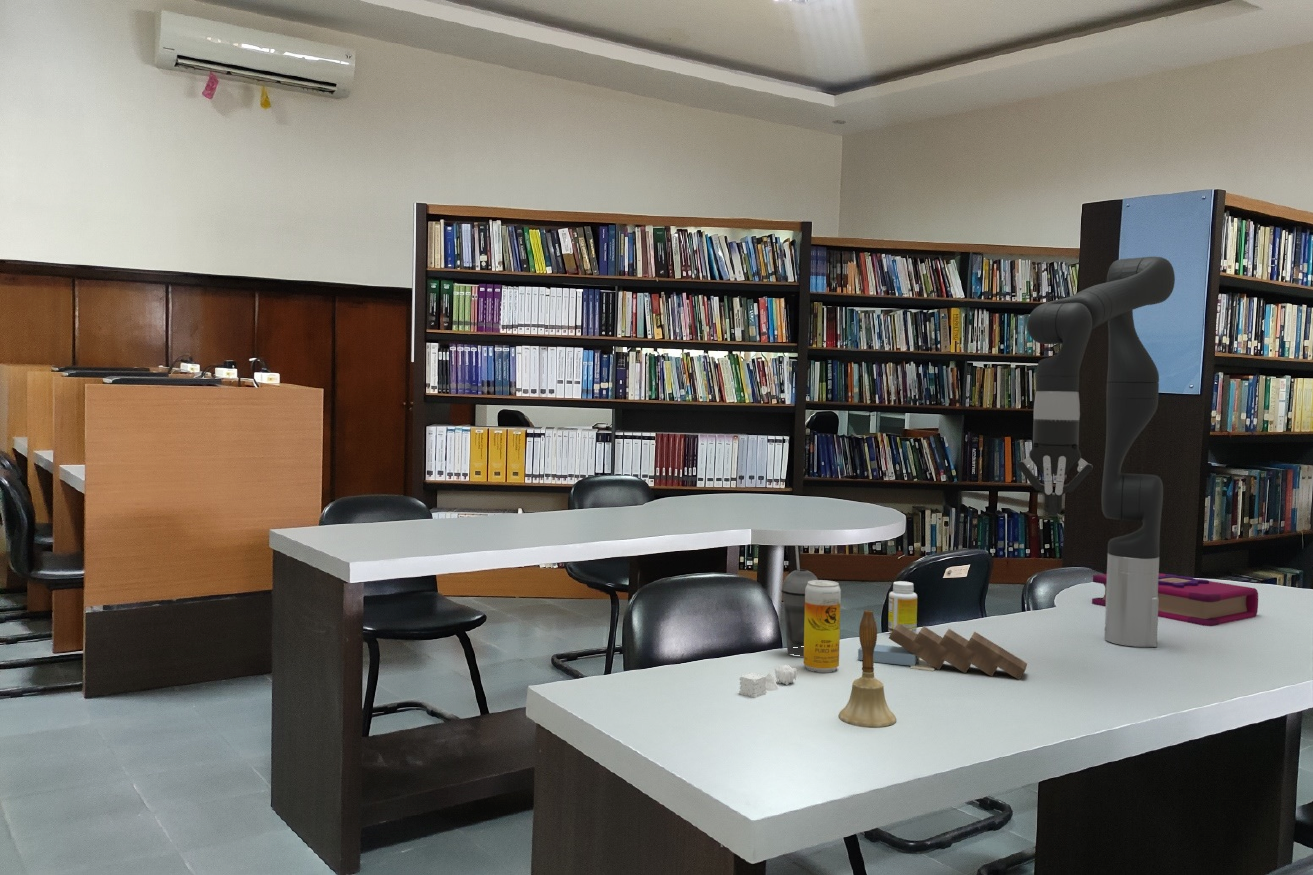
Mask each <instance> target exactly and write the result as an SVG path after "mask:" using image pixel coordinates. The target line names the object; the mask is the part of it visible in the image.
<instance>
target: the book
mask: <svg viewBox="0 0 1313 875" xmlns="http://www.w3.org/2000/svg"><path fill="white" fill-rule="evenodd" d="M1092 583H1096V584H1101V585H1103V586H1104V589H1105V590H1104V594H1103V595H1104V596H1103V597H1093V598H1091V604H1092V605H1095V606H1101V607H1105V608H1106V586H1107V573H1104V574H1094V575H1093V576H1092ZM1158 599H1159V601H1158V618H1163V619H1168V620H1173V621H1178V622H1183V623H1188V624H1191V625H1192V624H1193V625H1198V626H1204V627H1215V626H1220V625H1222V624H1228V623H1233V622H1237V621H1242V620H1243V621H1244V620H1246V619H1252V618H1256V616H1257V614H1258V608H1259V592H1258V589H1256V588H1255V587H1250V586H1243V585H1237V584H1231V583H1230V584H1229V583H1223V582H1218V581H1217V582H1216V581H1212V580H1211V581H1210V580H1208V579H1201V578H1199V579H1198V578H1194V577H1192V576H1184V575H1183V576H1182V575H1181V576H1179V575H1176V574H1169V573H1162V572H1161V573H1160V572H1159V576H1158Z"/></svg>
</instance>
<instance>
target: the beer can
mask: <svg viewBox="0 0 1313 875" xmlns="http://www.w3.org/2000/svg"><path fill="white" fill-rule="evenodd" d="M839 584H840V583H839V582H838V581H837V582H836V581H833V580H827V579H826V580H825V579H824V580H823V579H818V580H813V581H809V582H808V584H807V586H806V588H805V621H804V657H803V664H804V666H805V668H806V669H807V670H808V671H810V672H814V671H817V672H816V673H832V671H833V672H835V671H836V670H837V668H838V667H839V666H840V635H841V633H840V632H841V631H840V630H841V601H842V600H841V598H842V597H841V595H842V590H841V587H840V585H839Z"/></svg>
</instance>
